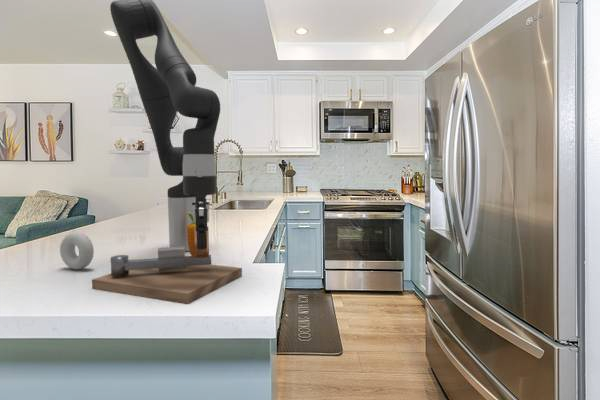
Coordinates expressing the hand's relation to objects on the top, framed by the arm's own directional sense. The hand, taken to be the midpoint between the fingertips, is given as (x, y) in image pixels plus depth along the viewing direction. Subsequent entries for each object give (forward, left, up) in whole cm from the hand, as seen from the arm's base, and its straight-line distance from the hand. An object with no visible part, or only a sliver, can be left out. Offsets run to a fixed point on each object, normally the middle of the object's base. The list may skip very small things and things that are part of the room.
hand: (201, 246), depth 87 cm
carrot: (-11, -10, -8) cm, 17 cm away
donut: (+5, -36, -8) cm, 37 cm away
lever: (+5, -7, -5) cm, 10 cm away
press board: (+5, -5, -8) cm, 11 cm away
